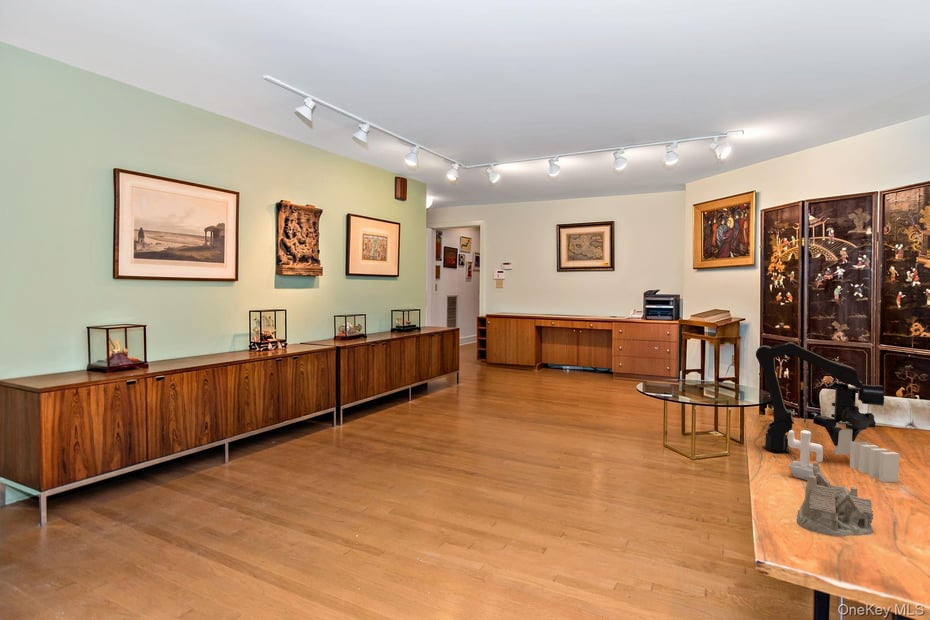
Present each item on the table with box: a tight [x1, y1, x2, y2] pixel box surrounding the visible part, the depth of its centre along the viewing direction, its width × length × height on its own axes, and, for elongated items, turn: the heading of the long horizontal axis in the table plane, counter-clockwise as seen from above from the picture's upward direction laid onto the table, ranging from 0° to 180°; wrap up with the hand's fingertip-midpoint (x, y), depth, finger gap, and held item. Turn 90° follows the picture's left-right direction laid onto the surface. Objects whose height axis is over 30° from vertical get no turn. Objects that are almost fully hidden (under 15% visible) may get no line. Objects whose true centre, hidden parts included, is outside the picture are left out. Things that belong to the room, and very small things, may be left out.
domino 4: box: [868, 447, 890, 479], centre depth 162 cm, size 5×2×9 cm, turn 94°
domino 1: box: [833, 427, 852, 456], centre depth 176 cm, size 5×2×9 cm, turn 94°
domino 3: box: [858, 444, 880, 474], centre depth 166 cm, size 5×2×9 cm, turn 94°
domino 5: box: [878, 451, 901, 483], centre depth 158 cm, size 5×2×9 cm, turn 94°
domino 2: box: [849, 440, 870, 470], centre depth 169 cm, size 5×2×9 cm, turn 94°
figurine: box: [787, 429, 824, 481], centre depth 161 cm, size 7×9×15 cm
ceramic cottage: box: [796, 461, 874, 537], centre depth 128 cm, size 16×16×15 cm
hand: (842, 445), depth 176 cm, fingers closed on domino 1, 5 cm apart
